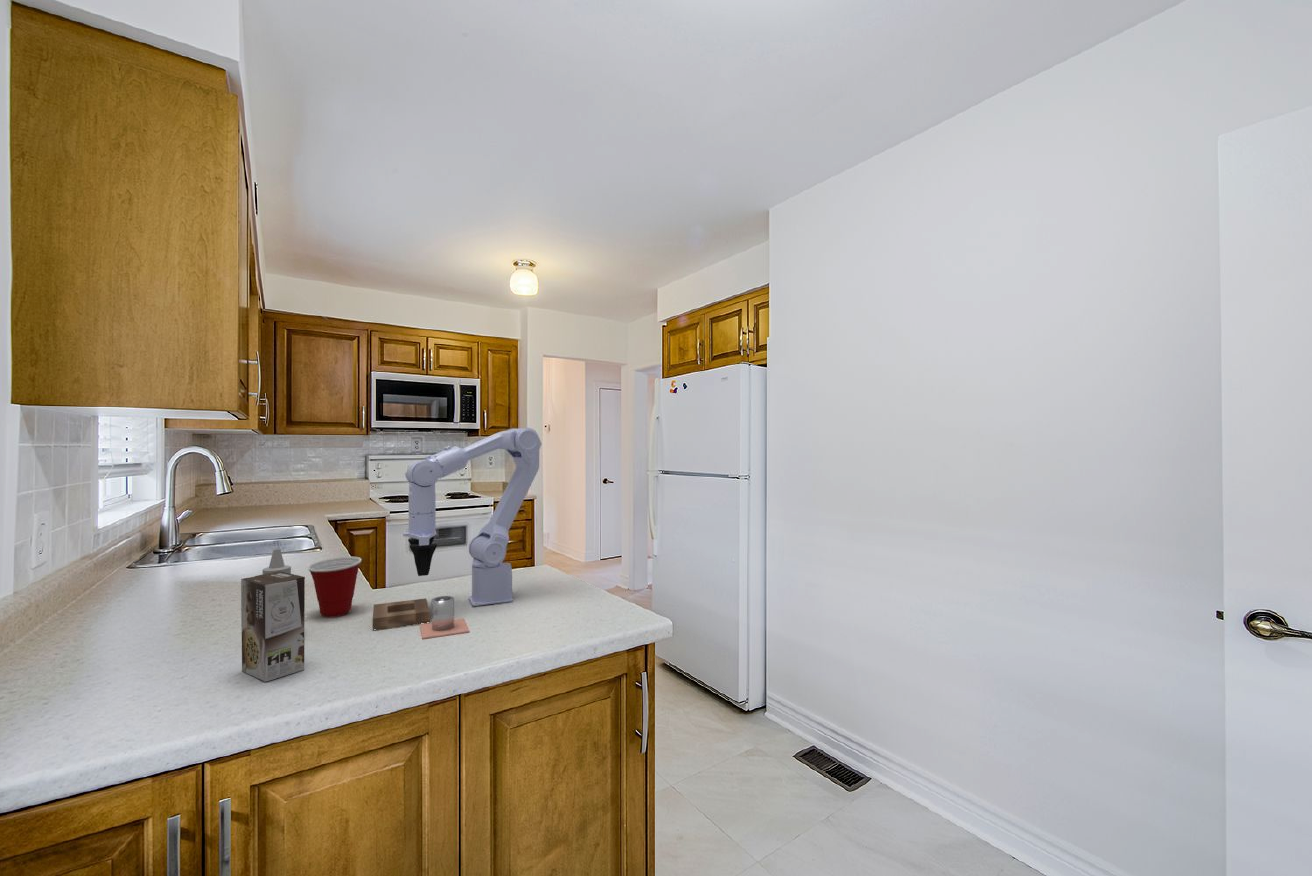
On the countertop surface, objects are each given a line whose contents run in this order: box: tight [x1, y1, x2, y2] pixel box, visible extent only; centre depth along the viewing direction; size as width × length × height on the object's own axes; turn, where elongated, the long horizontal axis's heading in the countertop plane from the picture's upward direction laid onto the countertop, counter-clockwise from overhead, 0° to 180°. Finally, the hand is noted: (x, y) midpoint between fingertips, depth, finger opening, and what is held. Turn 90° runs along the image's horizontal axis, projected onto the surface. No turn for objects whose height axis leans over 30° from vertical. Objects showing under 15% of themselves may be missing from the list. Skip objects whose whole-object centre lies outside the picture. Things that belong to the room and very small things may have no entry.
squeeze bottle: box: [262, 548, 292, 574], centre depth 110 cm, size 8×8×18 cm
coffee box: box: [240, 571, 306, 683], centre depth 95 cm, size 9×6×16 cm
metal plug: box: [430, 595, 455, 631], centre depth 116 cm, size 4×4×6 cm
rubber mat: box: [419, 617, 471, 640], centre depth 116 cm, size 9×9×1 cm
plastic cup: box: [307, 556, 363, 618], centre depth 126 cm, size 11×11×12 cm
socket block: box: [372, 597, 431, 631], centre depth 122 cm, size 11×11×2 cm
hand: (422, 571), depth 127 cm, fingers open, 7 cm apart
